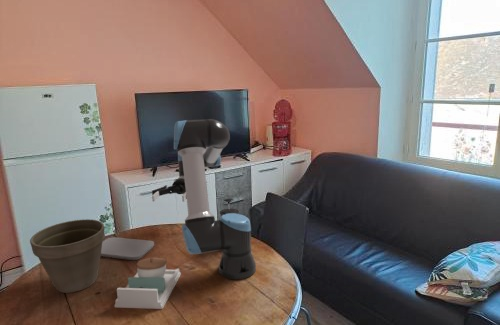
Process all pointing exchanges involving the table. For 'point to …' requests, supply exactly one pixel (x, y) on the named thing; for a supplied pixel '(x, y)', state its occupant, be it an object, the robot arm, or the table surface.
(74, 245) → the plant pot
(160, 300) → the pusher lane
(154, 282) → the pusher plate
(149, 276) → the lidded jar
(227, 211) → the french press
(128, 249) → the tablet
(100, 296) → the table surface
